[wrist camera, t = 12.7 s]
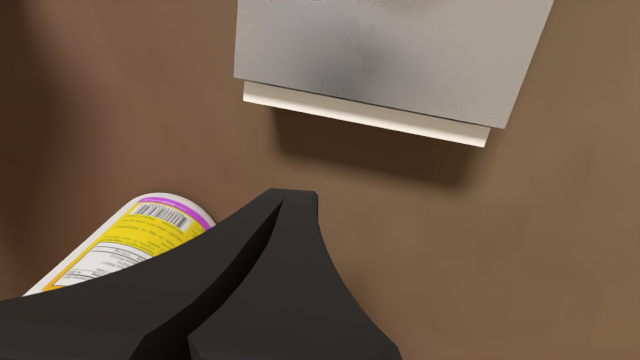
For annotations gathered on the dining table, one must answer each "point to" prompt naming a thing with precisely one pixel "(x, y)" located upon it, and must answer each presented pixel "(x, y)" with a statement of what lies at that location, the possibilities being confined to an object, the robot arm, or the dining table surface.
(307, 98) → the tray
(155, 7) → the dining table surface
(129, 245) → the supplement bottle
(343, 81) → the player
